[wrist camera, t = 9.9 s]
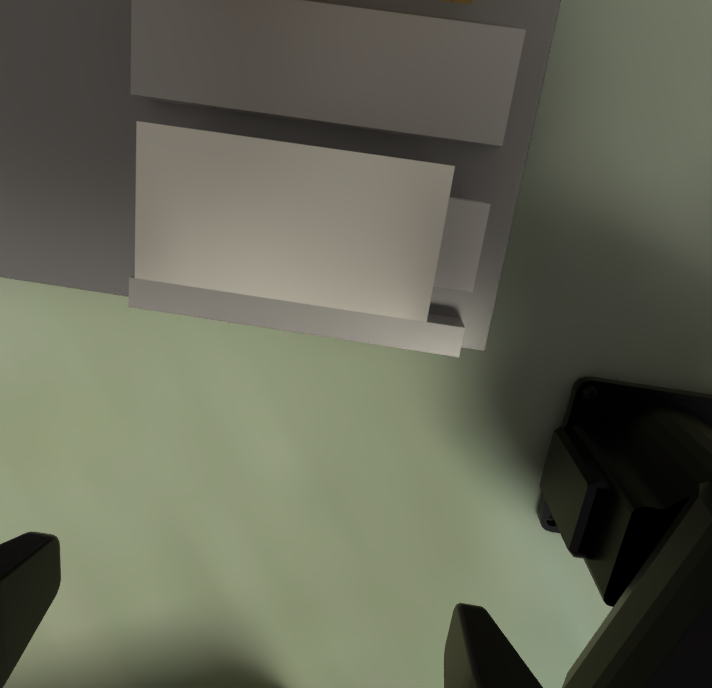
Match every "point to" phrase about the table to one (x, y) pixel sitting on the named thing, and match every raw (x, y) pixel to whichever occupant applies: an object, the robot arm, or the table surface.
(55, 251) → the organiser
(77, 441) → the table surface
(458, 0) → the amber plug
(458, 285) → the grey plug
